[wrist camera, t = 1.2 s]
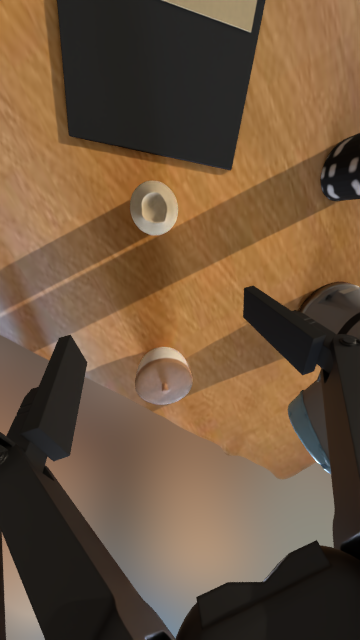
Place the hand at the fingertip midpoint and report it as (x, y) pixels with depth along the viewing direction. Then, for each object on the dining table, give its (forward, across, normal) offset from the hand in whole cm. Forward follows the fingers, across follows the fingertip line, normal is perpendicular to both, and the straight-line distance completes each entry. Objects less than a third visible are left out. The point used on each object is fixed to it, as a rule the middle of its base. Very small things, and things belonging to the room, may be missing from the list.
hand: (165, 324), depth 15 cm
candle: (+22, -4, -6) cm, 23 cm away
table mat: (+24, -9, -24) cm, 35 cm away
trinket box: (+20, +1, +22) cm, 30 cm away
